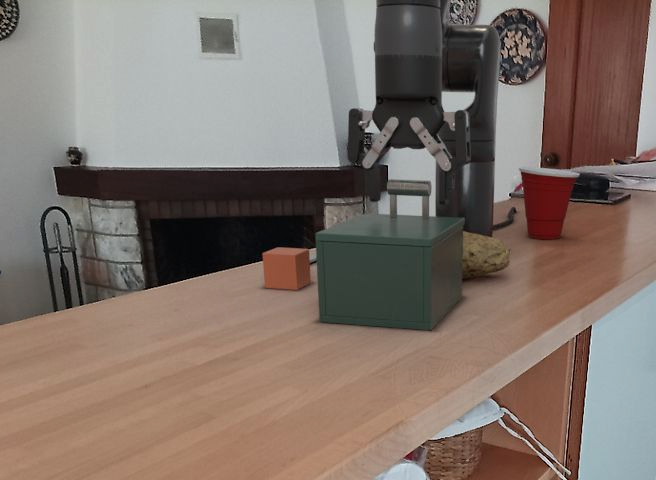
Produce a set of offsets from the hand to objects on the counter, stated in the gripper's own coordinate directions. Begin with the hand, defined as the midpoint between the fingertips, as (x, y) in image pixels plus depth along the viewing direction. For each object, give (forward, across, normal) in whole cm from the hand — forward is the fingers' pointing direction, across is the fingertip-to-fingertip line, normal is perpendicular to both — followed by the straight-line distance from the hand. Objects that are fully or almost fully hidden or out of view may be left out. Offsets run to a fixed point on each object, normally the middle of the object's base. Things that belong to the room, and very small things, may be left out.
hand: (409, 202), depth 93 cm
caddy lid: (+3, 0, +6) cm, 6 cm away
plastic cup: (+11, -11, -52) cm, 54 cm away
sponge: (+12, 0, -13) cm, 17 cm away
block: (+12, +17, -2) cm, 21 cm away
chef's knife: (+11, +21, -18) cm, 30 cm away
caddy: (+12, 0, +6) cm, 13 cm away
